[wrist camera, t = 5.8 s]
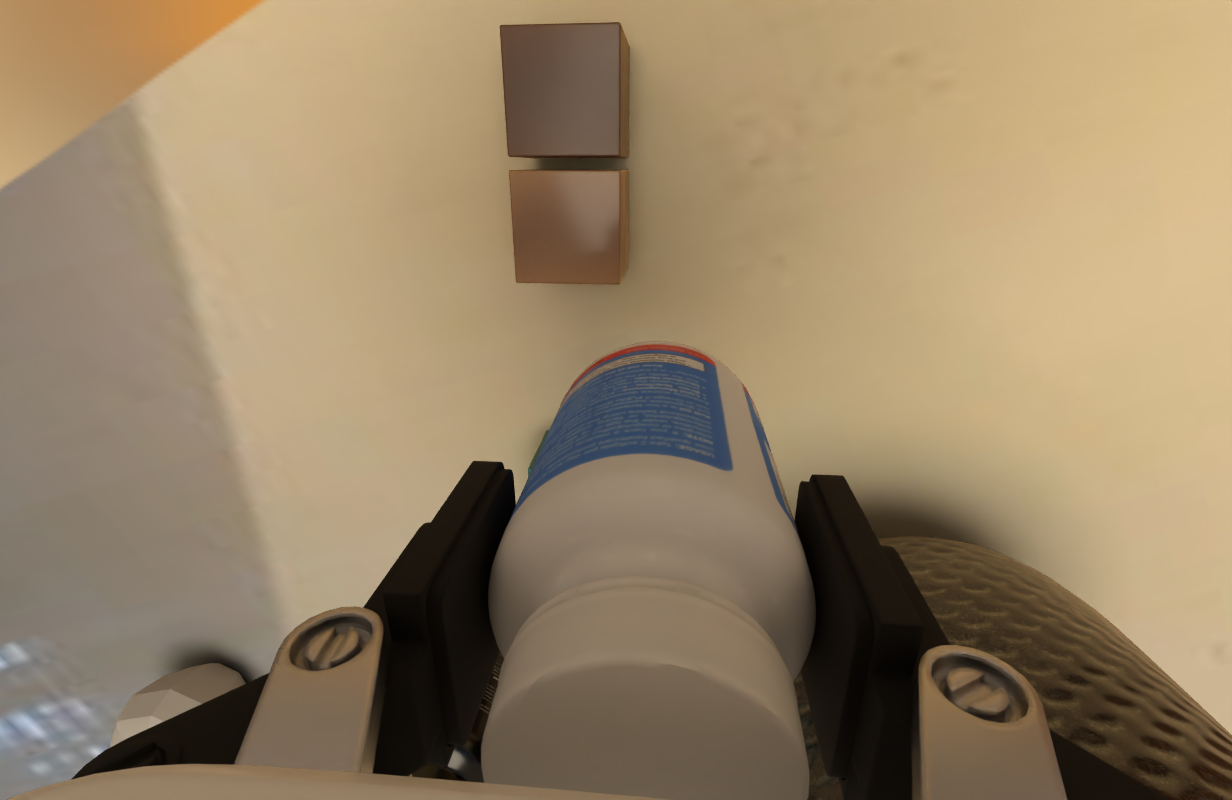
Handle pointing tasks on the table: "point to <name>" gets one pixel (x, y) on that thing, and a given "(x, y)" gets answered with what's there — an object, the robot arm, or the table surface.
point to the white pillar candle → (174, 697)
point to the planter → (1060, 671)
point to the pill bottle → (652, 595)
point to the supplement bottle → (468, 742)
